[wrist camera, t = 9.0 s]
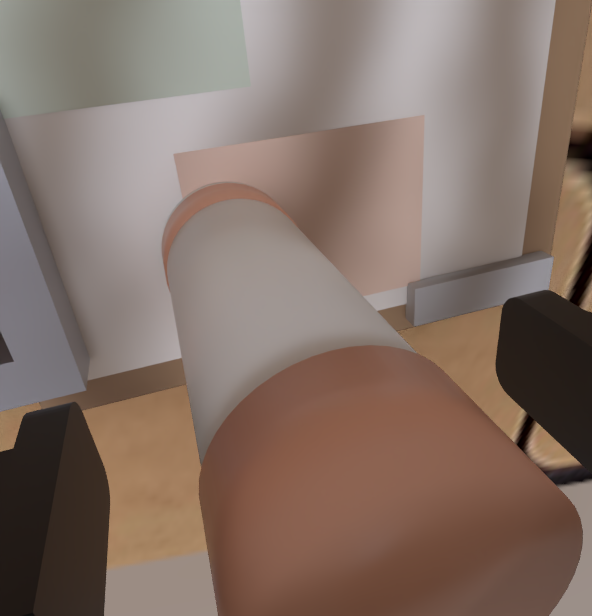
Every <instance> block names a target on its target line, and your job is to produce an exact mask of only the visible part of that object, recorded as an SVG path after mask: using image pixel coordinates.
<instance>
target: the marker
mask: <svg viewBox="0 0 592 616" xmlns="http://www.w3.org/2000/svg"><path fill="white" fill-rule="evenodd" d="M162 258H163V264H164V270H165V276H166V282H167V285H168V288H169V291H170V294H171V299H172V305H173V311H174V316H175V322H176V327H177V333H178V339H179V344H180V350H181V356H182V361H183V367H184V373H185V378H186V384H187V390H188V395H189V401H190V406H191V412H192V418H193V423H194V429H195V435H196V440H197V446H198V452H199V457H200V463H201V472H200V477H199V499H200V505H201V512H202V518H203V524H204V530H205V536H206V543H207V549H208V555H209V561H210V568H211V574H212V580H213V586H214V592H215V599H216V605H217V611H218V616H549V614H550V613H551V612H552V610H553V609H554V608H555V607H556V605H557V604H558V602H559V601H560V599H561V598H562V596H563V594H564V593H565V591H566V590H567V588H568V586H569V584H570V582H571V580H572V578H573V576H574V574H575V571H576V568H577V565H578V563H579V560H580V555H581V550H582V541H583V530H582V525H581V520H580V517H579V515H578V512H577V510H576V508H575V506H574V505H573V504H572V502H571V501H570V500H569V499H568V497H567V496H566V495H565V494H564V493H563V492H562V491H561V490H560V489H559V488H558V487H557V486H556V485H555V484H554V483H553V482H552V481H551V480H550V479H549V478H548V477H547V476H546V475H545V474H544V473H543V472H542V471H541V470H540V469H539V468H538V467H537V466H536V465H535V464H534V463H533V462H532V461H531V460H530V459H529V457H528V456H527V455H526V454H525V453H524V452H523V451H522V450H521V449H520V448H519V447H518V446H517V445H516V444H515V443H514V442H513V441H512V440H511V439H510V438H509V437H508V436H507V435H506V434H505V433H504V432H503V431H502V430H501V429H500V428H499V427H498V426H497V425H496V424H495V423H494V422H493V421H492V420H491V419H490V418H489V417H488V416H487V415H486V414H485V413H484V412H483V411H482V410H481V409H480V408H479V407H478V405H477V404H476V403H475V402H474V401H473V400H472V399H471V398H470V397H469V396H468V395H467V394H466V393H465V392H464V391H463V390H462V389H461V388H460V387H459V386H458V385H457V384H456V383H455V382H454V381H453V380H452V379H451V378H450V377H449V376H448V375H447V374H446V373H445V372H444V371H443V370H442V369H441V368H440V367H438V366H437V365H436V364H435V363H433V362H432V361H430V360H428V359H427V358H425V357H423V356H421V355H419V354H417V353H416V351H415V350H414V349H413V348H412V347H411V346H410V345H409V344H408V343H407V342H406V341H405V340H404V339H403V338H402V337H401V336H400V335H399V334H398V333H397V331H396V330H395V329H394V328H393V327H392V326H391V325H390V324H389V323H388V322H387V321H386V320H385V319H384V318H383V317H382V316H381V315H380V314H379V313H378V312H377V310H376V309H375V308H374V307H373V306H372V305H371V304H370V303H369V302H368V301H367V300H366V299H365V298H364V297H363V296H362V295H361V294H360V293H359V292H358V290H357V289H356V288H355V287H354V286H353V285H352V284H351V283H350V282H349V281H348V280H347V279H346V278H345V277H344V276H343V275H342V274H341V273H340V272H339V270H338V269H337V268H336V267H335V266H334V265H333V264H332V263H331V262H330V261H329V260H328V259H327V258H326V257H325V256H324V255H323V254H322V253H321V252H320V251H319V249H318V248H317V247H316V246H315V245H314V244H313V243H312V242H311V241H310V240H309V239H308V238H307V237H306V236H305V235H304V234H303V233H302V232H301V231H300V229H299V228H298V227H297V225H296V224H295V222H294V221H293V220H292V219H291V218H290V216H289V215H288V214H287V213H286V212H285V211H284V210H283V209H282V208H281V207H280V206H279V205H278V204H277V203H276V202H275V201H274V200H273V199H272V198H271V197H269V196H268V195H267V194H265V193H264V192H262V191H260V190H258V189H256V188H254V187H252V186H249V185H246V184H243V183H237V182H216V183H212V184H208V185H205V186H203V187H200V188H198V189H196V190H194V191H193V192H191V193H190V194H188V195H187V196H186V197H184V198H183V199H182V200H181V201H180V202H179V203H178V204H177V206H176V207H175V208H174V209H173V211H172V213H171V214H170V216H169V218H168V220H167V223H166V225H165V229H164V233H163V237H162Z"/></svg>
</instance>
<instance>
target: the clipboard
mask: <svg viewBox="0 0 592 616" xmlns="http://www.w3.org/2000/svg"><path fill="white" fill-rule="evenodd" d="M591 6H592V0H0V110H1V113H2V116H3V118H4V120H5V122H6V125H7V128H8V131H9V133H10V136H11V139H12V142H13V145H14V147H15V150H16V153H17V156H18V159H19V161H20V164H21V167H22V170H23V173H24V175H25V178H26V181H27V184H28V187H29V189H30V192H31V195H32V198H33V201H34V203H35V206H36V209H37V212H38V215H39V217H40V220H41V223H42V226H43V229H44V231H45V234H46V237H47V240H48V243H49V245H50V248H51V251H52V254H53V257H54V259H55V262H56V265H57V268H58V271H59V273H60V276H61V279H62V282H63V285H64V287H65V290H66V293H67V296H68V298H69V301H70V304H71V307H72V310H73V312H74V315H75V318H76V321H77V324H78V326H79V329H80V332H81V335H82V338H83V340H84V343H85V346H86V349H87V352H88V354H89V357H90V363H89V372H88V380H87V389H86V391H82V392H78V393H74V394H70V395H66V396H62V397H58V398H54V399H50V400H45V401H41V402H39V403H40V406H41V408H42V409H45V408H50V407H54V406H58V405H62V404H66V403H70V402H76V403H77V404H78V405H79V406H80V408H81V410H86V409H90V408H94V407H98V406H102V405H106V404H110V403H114V402H118V401H122V400H126V399H130V398H134V397H138V396H141V395H145V394H149V393H153V392H157V391H161V390H165V389H169V388H173V387H177V386H181V385H185V384H186V378H185V373H184V367H183V361H182V356H181V350H180V344H179V339H178V333H177V327H176V322H175V316H174V311H173V305H172V299H171V294H170V291H169V288H168V285H167V282H166V276H165V270H164V264H163V258H162V237H163V233H164V229H165V225H166V223H167V220H168V218H169V216H170V214H171V213H172V211H173V209H174V208H175V207H176V206H177V204H178V203H179V202H180V201H181V200H182V199H183V198H184V197H186V196H187V195H188V194H190V193H191V192H193V191H194V190H196V189H198V188H200V187H203V186H205V185H208V184H212V183H216V182H237V183H243V184H246V185H249V186H252V187H254V188H256V189H258V190H260V191H262V192H264V193H265V194H267V195H268V196H269V197H271V198H272V199H273V200H274V201H275V202H276V203H277V204H278V205H279V206H280V207H281V208H282V209H283V210H284V211H285V212H286V213H287V214H288V215H289V216H290V218H291V219H292V220H293V221H294V222H295V224H296V225H297V227H298V228H299V229H300V231H301V232H302V233H303V234H304V235H305V236H306V237H307V238H308V239H309V240H310V241H311V242H312V243H313V244H314V245H315V246H316V247H317V248H318V249H319V251H320V252H321V253H322V254H323V255H324V256H325V257H326V258H327V259H328V260H329V261H330V262H331V263H332V264H333V265H334V266H335V267H336V268H337V269H338V270H339V272H340V273H341V274H342V275H343V276H344V277H345V278H346V279H347V280H348V281H349V282H350V283H351V284H352V285H353V286H354V287H355V288H356V289H357V290H358V292H359V293H360V294H361V295H362V296H363V297H364V298H365V299H366V300H367V301H368V302H369V303H370V304H371V305H372V306H373V307H374V308H375V309H376V310H377V312H378V313H379V314H380V315H381V316H382V317H383V318H384V319H385V320H386V321H387V322H388V323H389V324H390V325H391V326H392V327H393V328H394V329H395V330H396V331H400V330H404V329H408V328H412V327H416V326H420V325H424V324H428V323H431V322H435V321H439V320H443V319H447V318H451V317H455V316H459V315H463V314H467V313H471V312H475V311H479V310H483V309H487V308H491V307H495V306H499V305H503V304H504V303H505V302H506V301H507V300H508V299H509V298H513V297H517V296H521V295H525V294H529V293H533V292H538V291H542V290H548V289H549V283H550V277H551V271H552V265H553V259H554V257H553V256H551V250H552V244H553V238H554V232H555V226H556V220H557V214H558V207H559V201H560V195H561V189H562V183H563V177H564V171H565V165H566V158H567V152H568V146H569V140H570V134H571V128H572V122H573V116H574V110H575V103H576V97H577V91H578V85H579V79H580V73H581V67H582V61H583V55H584V48H585V42H586V36H587V30H588V24H589V18H590V12H591Z"/></svg>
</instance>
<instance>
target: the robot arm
mask: <svg viewBox="0 0 592 616" xmlns="http://www.w3.org/2000/svg"><path fill="white" fill-rule="evenodd" d="M496 373H497V377H498V380H499V382H500V384H501V386H502V388H503V389H504V391H505V392H506V393H507V394H508V395H509V396H510V397H511V398H512V399H513V400H514V401H515V402H516V403H517V404H518V405H519V406H520V407H521V408H522V409H524V410H525V411H526V412H527V413H528V414H529V415H530V416H531V417H532V418H533V419H534V420H535V421H536V422H537V423H538V424H539V425H541V426H542V427H543V428H544V429H545V430H546V431H547V432H548V433H549V434H550V435H551V436H552V437H553V438H554V439H555V440H556V441H557V442H559V443H560V444H561V445H562V446H563V447H564V448H565V449H566V450H567V451H568V452H569V453H570V454H571V455H572V456H573V457H574V458H576V459H577V460H578V461H579V462H580V463H581V464H582V465H583V466H584V467H585V468H586V469H587V470H588V471H589V472H590V473H591V474H592V313H591V312H588V311H585V310H583V309H581V308H579V307H578V306H576V305H574V304H573V303H571V302H569V301H568V300H566V299H564V298H563V297H561V296H559V295H558V294H556V293H554V292H552V291H550V290H542V291H538V292H533V293H529V294H525V295H521V296H517V297H513V298H509V299H508V300H507V301H506V302H505V303H504V305H503V308H502V314H501V323H500V331H499V339H498V347H497V356H496ZM109 514H110V493H109V485H108V480H107V475H106V472H105V468H104V466H103V463H102V460H101V458H100V455H99V453H98V450H97V448H96V445H95V443H94V440H93V438H92V435H91V433H90V430H89V428H88V425H87V423H86V420H85V418H84V415H83V413H82V410H81V408H80V406H79V405H78V404H77V403H76V402H70V403H66V404H62V405H58V406H54V407H50V408H45V409H41V410H37V411H33V412H29V413H26V414H25V415H24V417H23V419H22V422H21V425H20V429H19V432H18V435H17V438H16V442H15V445H14V448H13V449H10V450H6V451H2V452H0V616H104V603H105V585H106V567H107V550H108V532H109Z"/></svg>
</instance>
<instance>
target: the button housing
mask: <svg viewBox="0 0 592 616" xmlns="http://www.w3.org/2000/svg"><path fill="white" fill-rule="evenodd" d="M89 363H90V357H89V354H88V352H87V349H86V346H85V343H84V340H83V338H82V335H81V332H80V329H79V326H78V324H77V321H76V318H75V315H74V312H73V310H72V307H71V304H70V301H69V298H68V296H67V293H66V290H65V287H64V285H63V282H62V279H61V276H60V273H59V271H58V268H57V265H56V262H55V259H54V257H53V254H52V251H51V248H50V245H49V243H48V240H47V237H46V234H45V231H44V229H43V226H42V223H41V220H40V217H39V215H38V212H37V209H36V206H35V203H34V201H33V198H32V195H31V192H30V189H29V187H28V184H27V181H26V178H25V175H24V173H23V170H22V167H21V164H20V161H19V159H18V156H17V153H16V150H15V147H14V145H13V142H12V139H11V136H10V133H9V131H8V128H7V125H6V122H5V120H4V118H3V116H2V113H1V110H0V411H5V410H9V409H13V408H17V407H21V406H25V405H29V404H33V403H37V402H41V401H45V400H50V399H54V398H58V397H62V396H66V395H70V394H74V393H78V392H82V391H86V389H87V380H88V372H89Z"/></svg>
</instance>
